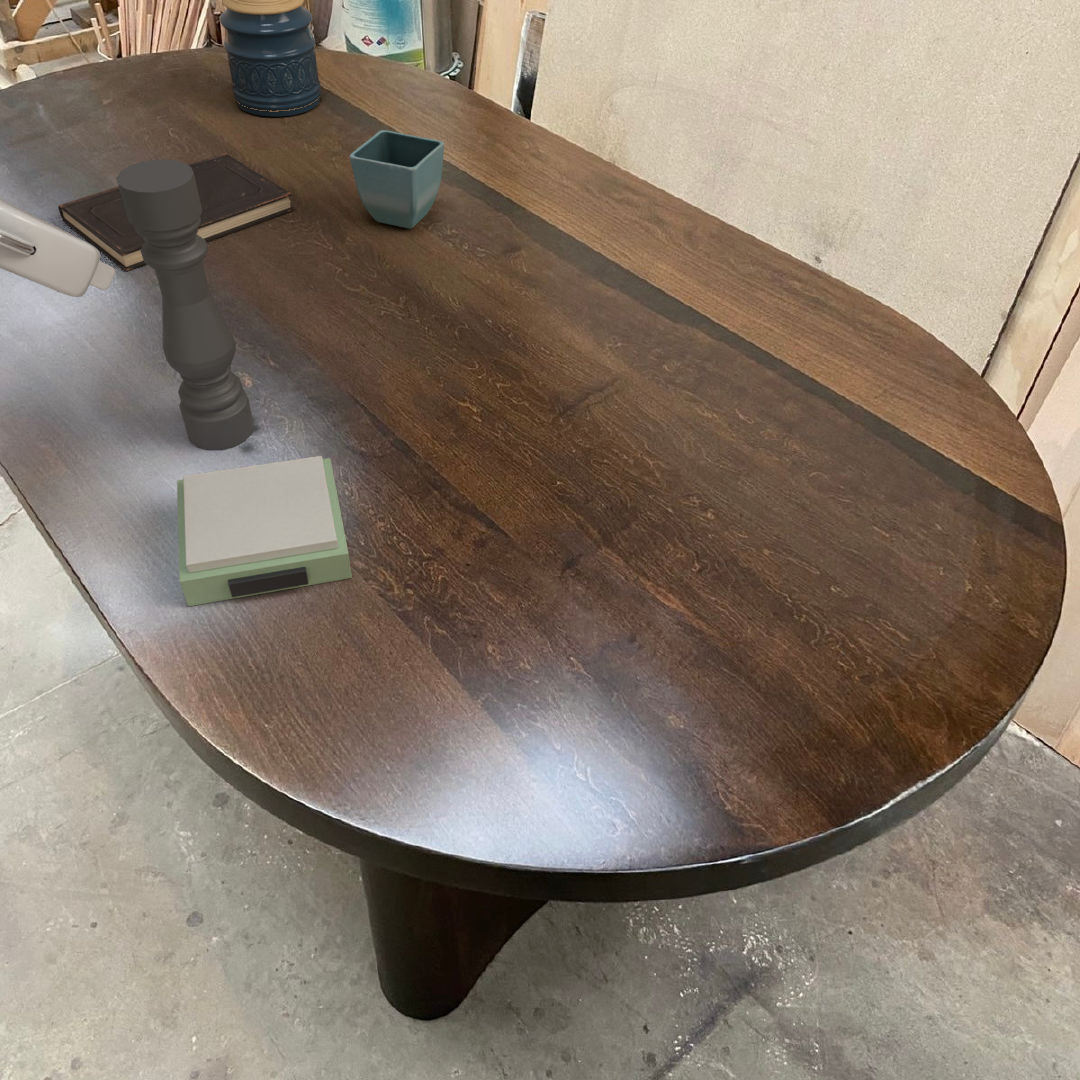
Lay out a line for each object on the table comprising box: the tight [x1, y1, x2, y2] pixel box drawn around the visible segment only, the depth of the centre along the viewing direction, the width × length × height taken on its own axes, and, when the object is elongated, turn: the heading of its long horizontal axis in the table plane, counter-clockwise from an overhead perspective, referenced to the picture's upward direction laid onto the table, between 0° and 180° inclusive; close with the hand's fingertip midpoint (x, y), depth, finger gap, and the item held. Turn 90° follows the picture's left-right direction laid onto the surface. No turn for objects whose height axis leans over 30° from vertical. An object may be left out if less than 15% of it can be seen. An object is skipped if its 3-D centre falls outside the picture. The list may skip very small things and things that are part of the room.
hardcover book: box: [57, 152, 295, 272], centre depth 120 cm, size 16×23×2 cm
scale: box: [176, 455, 353, 607], centre depth 80 cm, size 13×12×4 cm
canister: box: [219, 0, 322, 118], centre depth 140 cm, size 13×13×18 cm
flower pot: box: [348, 129, 445, 230], centre depth 119 cm, size 9×9×9 cm
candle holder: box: [116, 158, 255, 451], centre depth 83 cm, size 6×6×25 cm
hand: (66, 256), depth 72 cm, fingers open, 8 cm apart
